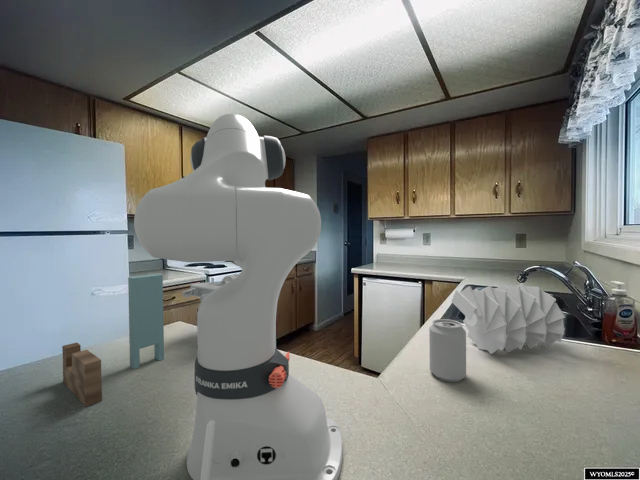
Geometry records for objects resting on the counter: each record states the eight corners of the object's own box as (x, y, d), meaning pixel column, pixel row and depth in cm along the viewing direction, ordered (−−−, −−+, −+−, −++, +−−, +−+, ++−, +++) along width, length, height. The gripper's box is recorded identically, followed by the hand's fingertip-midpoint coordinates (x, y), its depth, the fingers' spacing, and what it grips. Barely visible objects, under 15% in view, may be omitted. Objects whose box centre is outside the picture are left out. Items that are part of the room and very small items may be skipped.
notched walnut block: (101, 400, 56) (101, 359, 56) (85, 406, 54) (84, 364, 54) (77, 377, 65) (76, 342, 65) (63, 381, 63) (62, 345, 63)
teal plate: (164, 359, 74) (162, 274, 74) (134, 369, 69) (132, 278, 69) (159, 356, 76) (158, 274, 76) (129, 366, 70) (128, 277, 70)
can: (470, 374, 64) (470, 321, 64) (459, 387, 59) (459, 329, 59) (437, 364, 69) (436, 315, 69) (424, 375, 64) (423, 322, 64)
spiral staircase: (556, 362, 78) (482, 370, 72) (506, 319, 94) (441, 322, 87) (592, 310, 71) (513, 313, 64) (531, 272, 86) (462, 271, 80)
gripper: (213, 276, 99) (173, 282, 88) (252, 282, 87) (212, 289, 76) (214, 294, 99) (174, 302, 88) (253, 302, 87) (212, 312, 76)
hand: (192, 296), depth 82 cm, fingers open, 8 cm apart
